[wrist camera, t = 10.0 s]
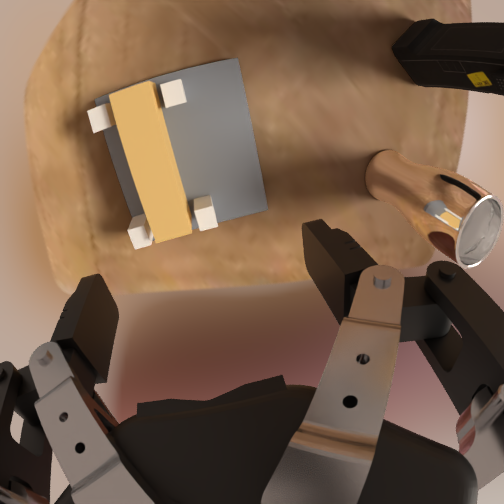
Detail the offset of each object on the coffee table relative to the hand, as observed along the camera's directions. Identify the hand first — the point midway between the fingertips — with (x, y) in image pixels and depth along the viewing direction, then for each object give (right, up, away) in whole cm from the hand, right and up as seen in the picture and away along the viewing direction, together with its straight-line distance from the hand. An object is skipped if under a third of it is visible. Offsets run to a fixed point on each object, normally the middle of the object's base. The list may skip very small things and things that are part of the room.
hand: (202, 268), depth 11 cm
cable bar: (-7, +9, +14) cm, 18 cm away
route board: (-4, +10, +15) cm, 18 cm away
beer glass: (+17, +9, +20) cm, 28 cm away
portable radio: (+20, +23, +13) cm, 33 cm away
